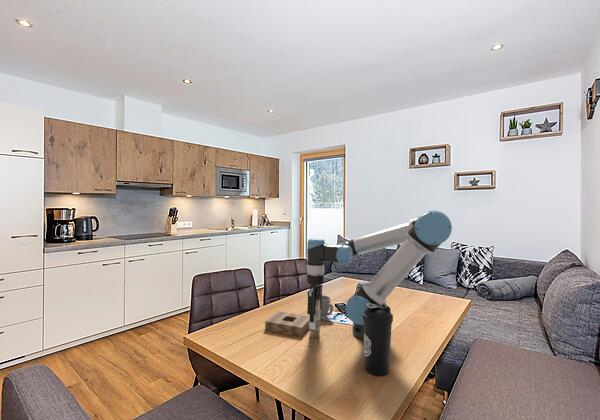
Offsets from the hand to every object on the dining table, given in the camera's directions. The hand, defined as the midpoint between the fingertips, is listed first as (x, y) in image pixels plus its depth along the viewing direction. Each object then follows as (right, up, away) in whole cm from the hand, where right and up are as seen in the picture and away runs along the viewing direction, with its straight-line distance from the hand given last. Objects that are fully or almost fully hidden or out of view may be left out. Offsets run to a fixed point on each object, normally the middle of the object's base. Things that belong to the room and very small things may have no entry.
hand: (314, 326), depth 132 cm
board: (-12, -4, +9) cm, 15 cm away
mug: (+6, -4, +23) cm, 24 cm away
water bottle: (+21, -5, -26) cm, 34 cm away
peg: (0, -4, 0) cm, 4 cm away
